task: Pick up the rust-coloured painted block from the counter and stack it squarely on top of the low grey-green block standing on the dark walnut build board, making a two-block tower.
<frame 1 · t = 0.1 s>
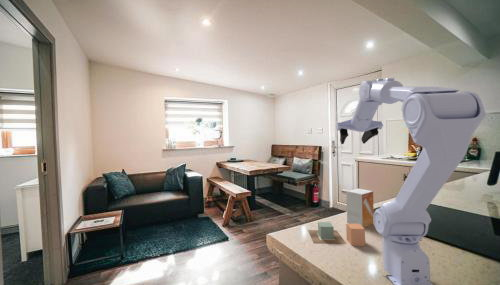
hand: (352, 141, 79), 32 cm above the worktop, tool tilted 50°, fingers open, 7 cm apart
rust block: (355, 245, 66), on the worktop
build board: (325, 238, 71), on the worktop
green block: (325, 236, 71), point 1 cm above the worktop, touching build board
small box: (360, 225, 82), on the worktop
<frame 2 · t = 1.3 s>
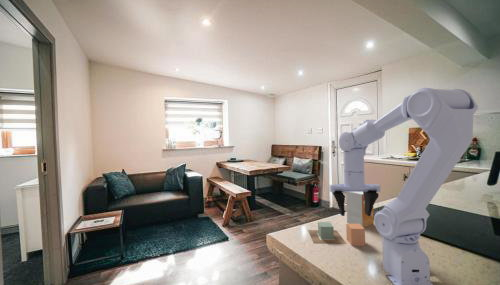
hand: (354, 214, 66), 9 cm above the worktop, tool pointing down, fingers open, 7 cm apart
nothing on the worktop moved.
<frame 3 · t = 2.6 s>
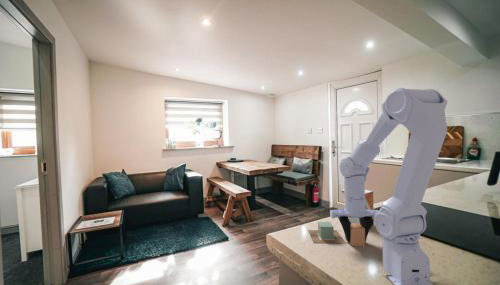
hand: (355, 240, 66), 1 cm above the worktop, tool pointing down, fingers closed on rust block, 4 cm apart
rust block: (355, 245, 66), on the worktop, touching gripper
everything else where it was.
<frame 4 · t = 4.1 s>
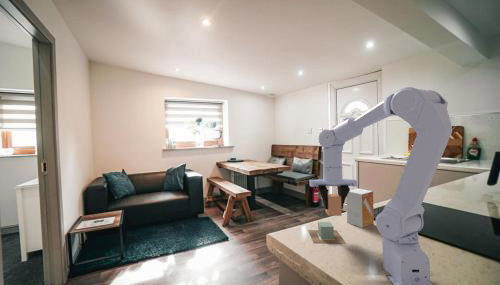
hand: (333, 208, 70), 11 cm above the worktop, tool pointing down, fingers closed on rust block, 4 cm apart
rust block: (333, 213, 70), point 9 cm above the worktop, touching gripper
everything else where it was.
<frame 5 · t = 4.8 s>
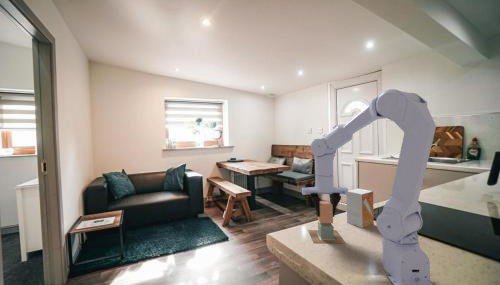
hand: (325, 215, 71), 8 cm above the worktop, tool pointing down, fingers closed on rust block, 4 cm apart
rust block: (325, 220, 71), point 6 cm above the worktop, touching gripper
everything else where it was.
when the fingers open (7 cm above the worktop, at t = 5.3 s): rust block stays where it is, resting on green block.
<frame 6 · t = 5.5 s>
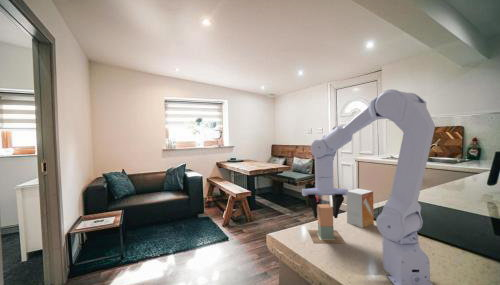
hand: (325, 217, 71), 7 cm above the worktop, tool pointing down, fingers open, 6 cm apart
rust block: (325, 224, 71), point 5 cm above the worktop, touching green block
green block: (325, 236, 71), point 1 cm above the worktop, touching build board, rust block
everything else where it was.
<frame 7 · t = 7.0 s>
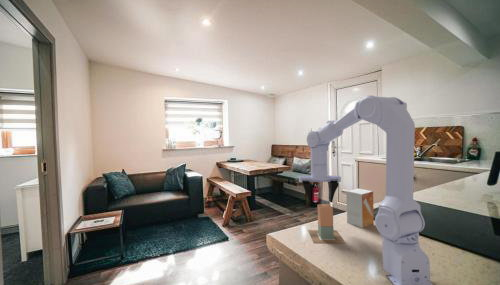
hand: (319, 201, 78), 10 cm above the worktop, tool pointing down, fingers open, 7 cm apart
nothing on the worktop moved.
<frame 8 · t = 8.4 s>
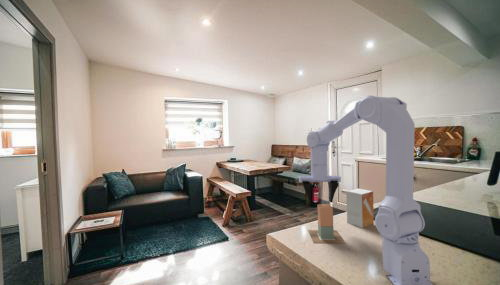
hand: (319, 201, 78), 10 cm above the worktop, tool pointing down, fingers open, 7 cm apart
nothing on the worktop moved.
at the end: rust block 0.2 cm off-centre on the green block, point 4.0 cm above the green block's base; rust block tilted 0°; the gripper is holding nothing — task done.
